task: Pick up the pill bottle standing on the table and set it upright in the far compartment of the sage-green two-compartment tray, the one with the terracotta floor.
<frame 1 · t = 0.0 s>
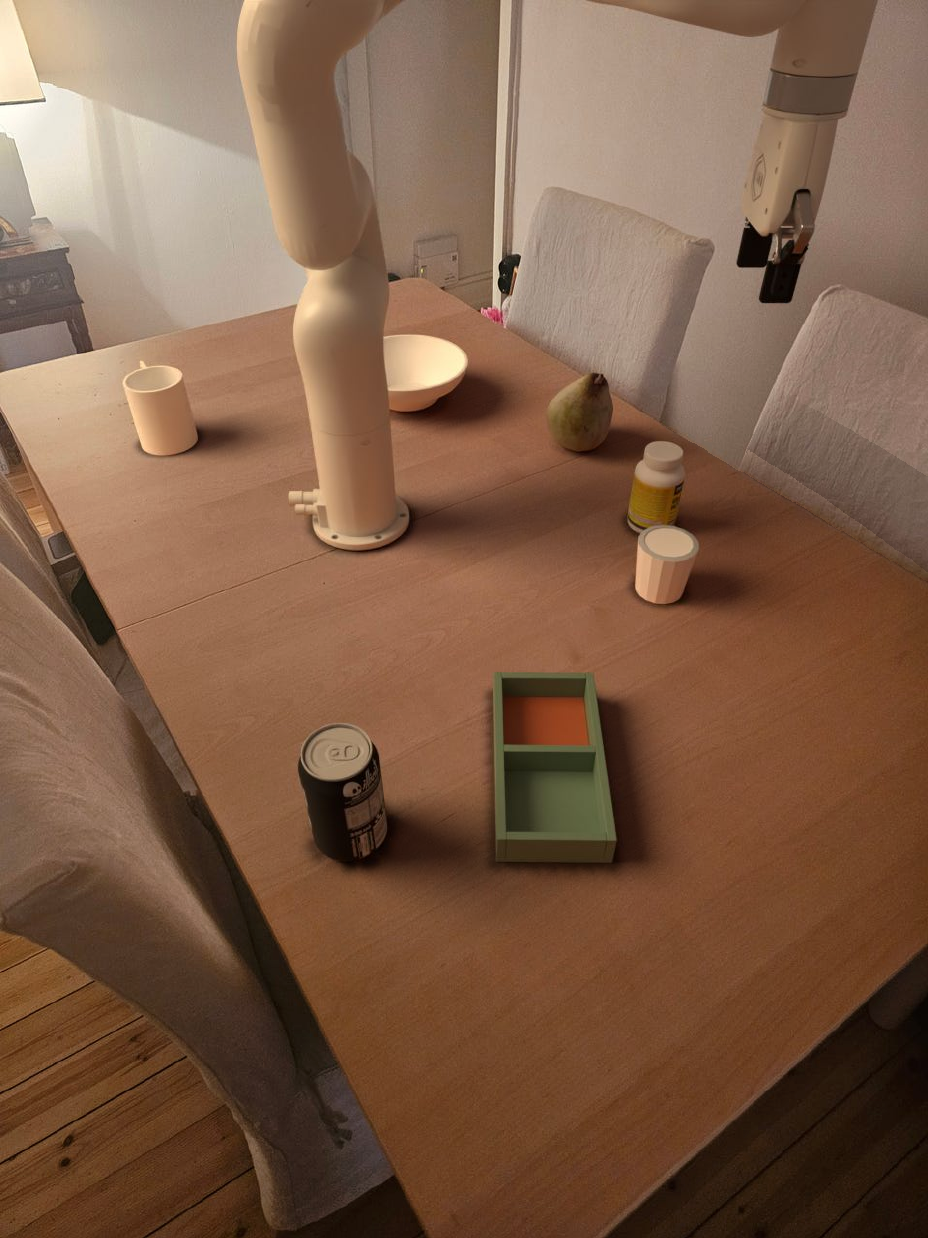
hand: (762, 283, 86), 31 cm above the table, tool pointing down, fingers open, 9 cm apart
tray: (547, 771, 79), on the table
cup: (166, 436, 125), on the table
bowl: (407, 402, 132), on the table
cream faceted tub: (658, 589, 98), on the table
beverage can: (351, 834, 74), on the table
pill bottle: (650, 525, 108), on the table
fruit: (576, 444, 123), on the table
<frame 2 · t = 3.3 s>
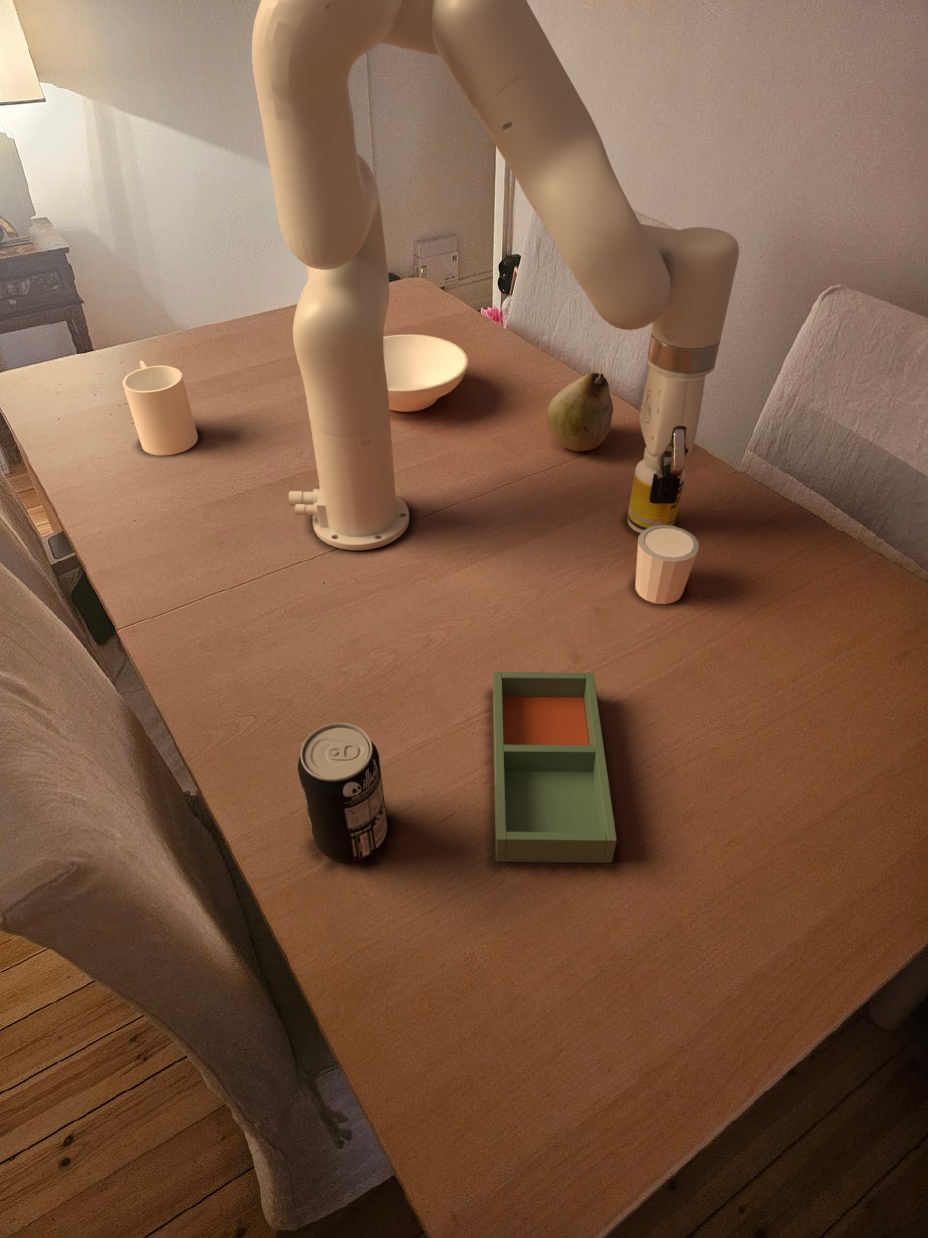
hand: (657, 485, 104), 6 cm above the table, tool pointing down, fingers closed on pill bottle, 6 cm apart
pill bottle: (650, 525, 108), on the table, touching gripper
everything else where it was.
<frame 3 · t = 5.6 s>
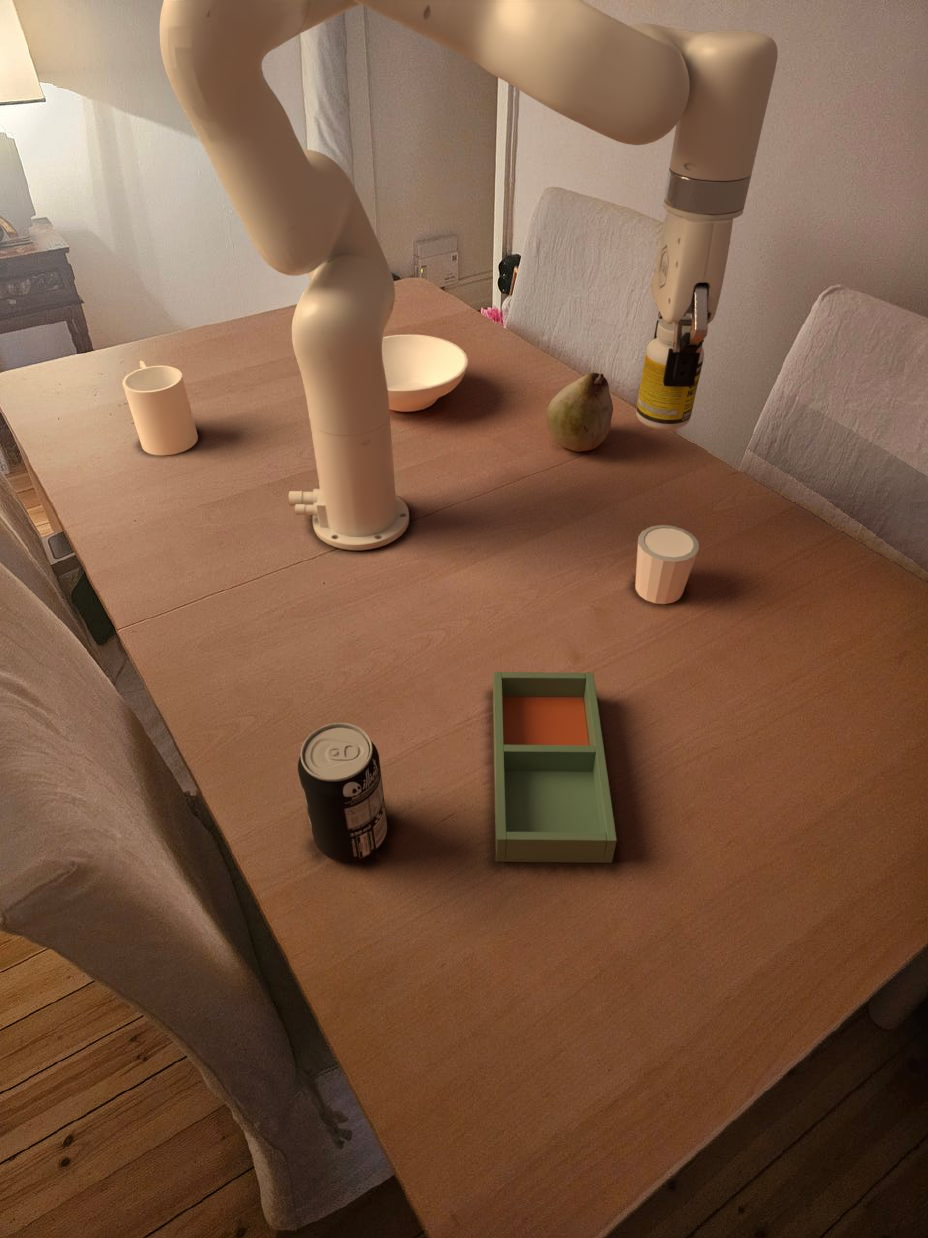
hand: (671, 368, 90), 23 cm above the table, tool pointing down, fingers closed on pill bottle, 6 cm apart
pill bottle: (662, 419, 94), point 17 cm above the table, touching gripper
everything else where it was.
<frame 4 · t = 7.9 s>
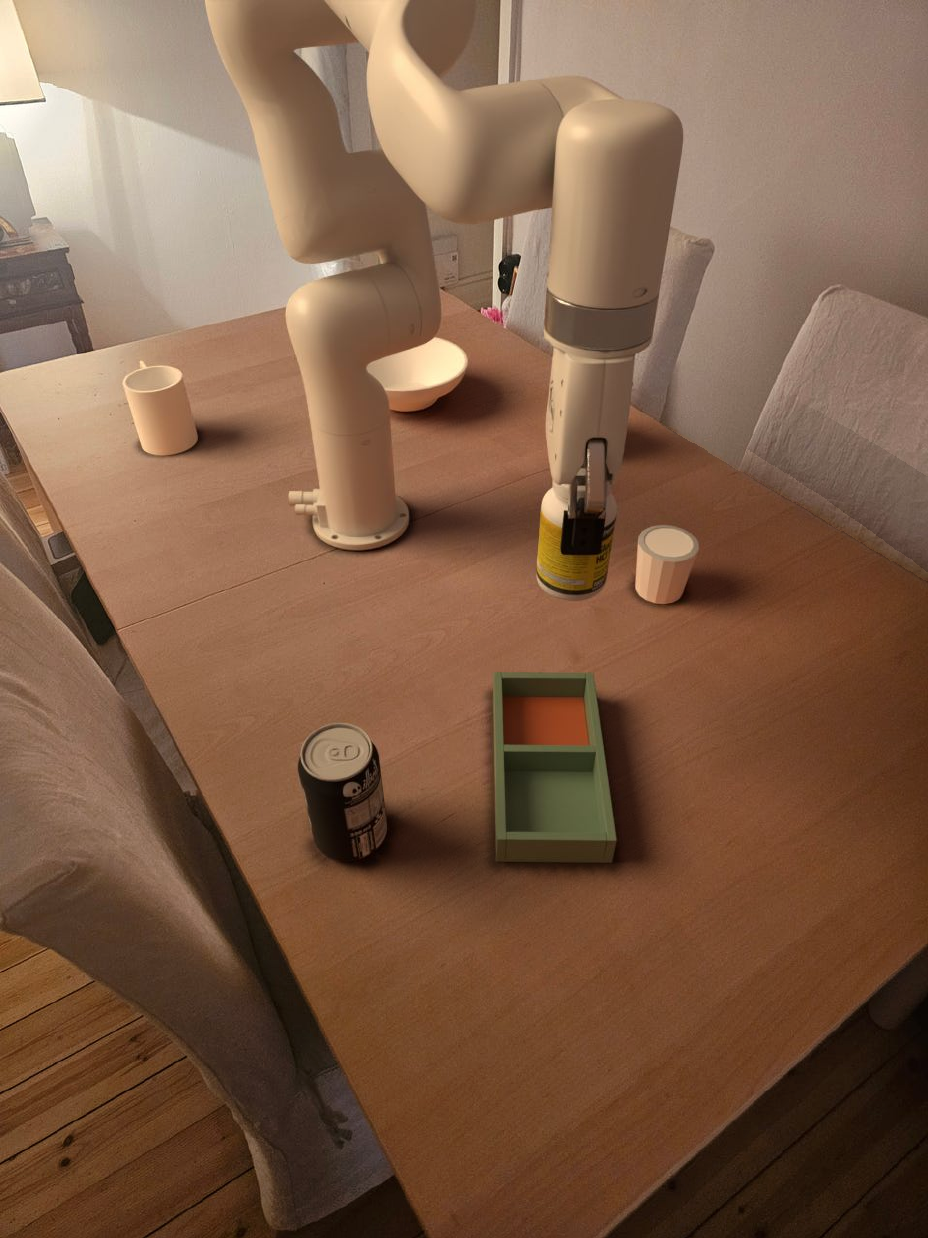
hand: (576, 525, 68), 23 cm above the table, tool pointing down, fingers closed on pill bottle, 6 cm apart
pill bottle: (570, 582, 72), point 17 cm above the table, touching gripper
everything else where it was.
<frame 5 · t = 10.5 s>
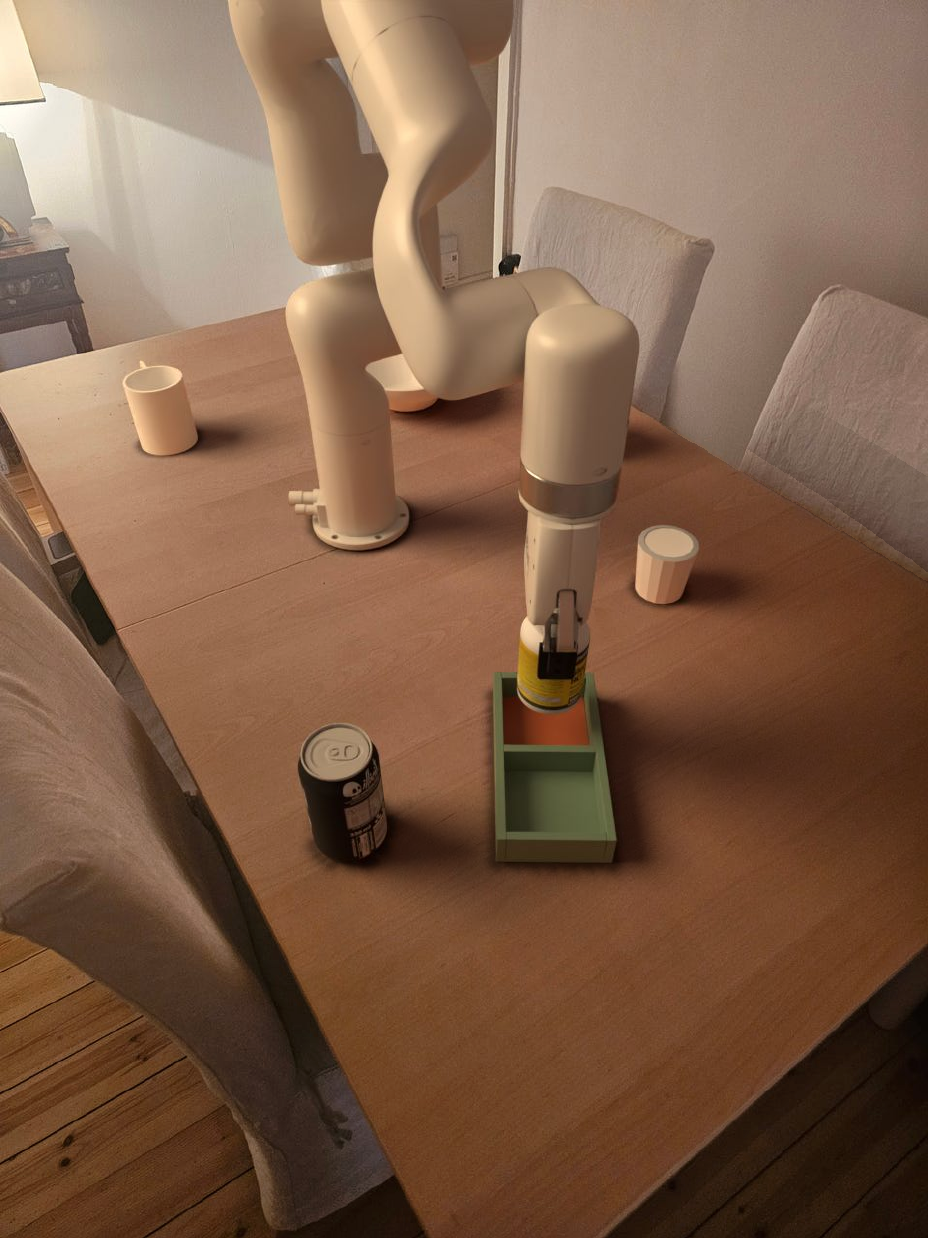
hand: (552, 647, 74), 12 cm above the table, tool pointing down, fingers closed on pill bottle, 6 cm apart
pill bottle: (549, 694, 78), point 6 cm above the table, touching gripper
everything else where it was.
when the fingers open (7 cm above the table, at t = 12.3 s): pill bottle stays where it is, resting on tray.
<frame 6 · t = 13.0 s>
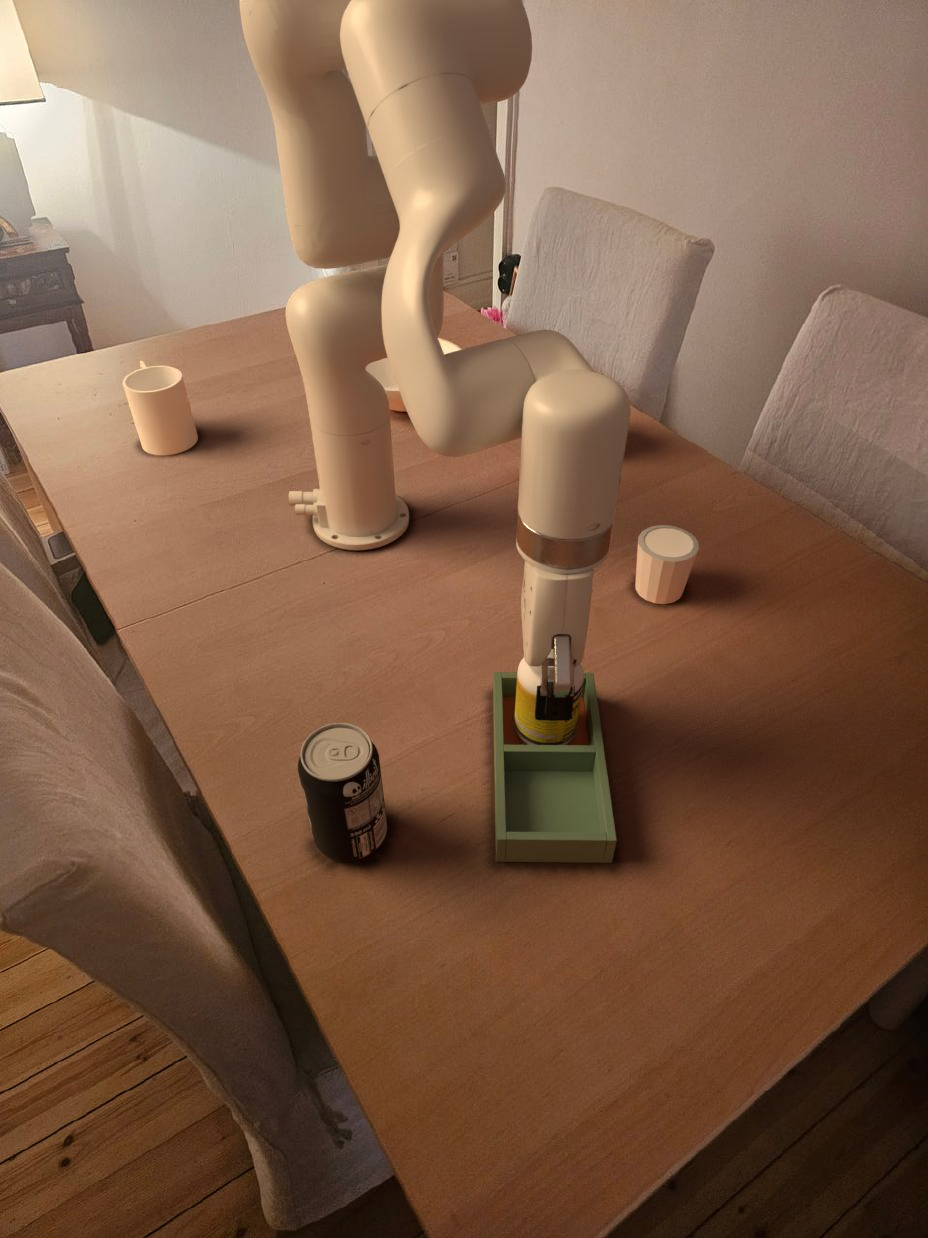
hand: (549, 677, 76), 8 cm above the table, tool pointing down, fingers open, 9 cm apart
pill bottle: (545, 729, 82), point 1 cm above the table, touching tray
everything else where it was.
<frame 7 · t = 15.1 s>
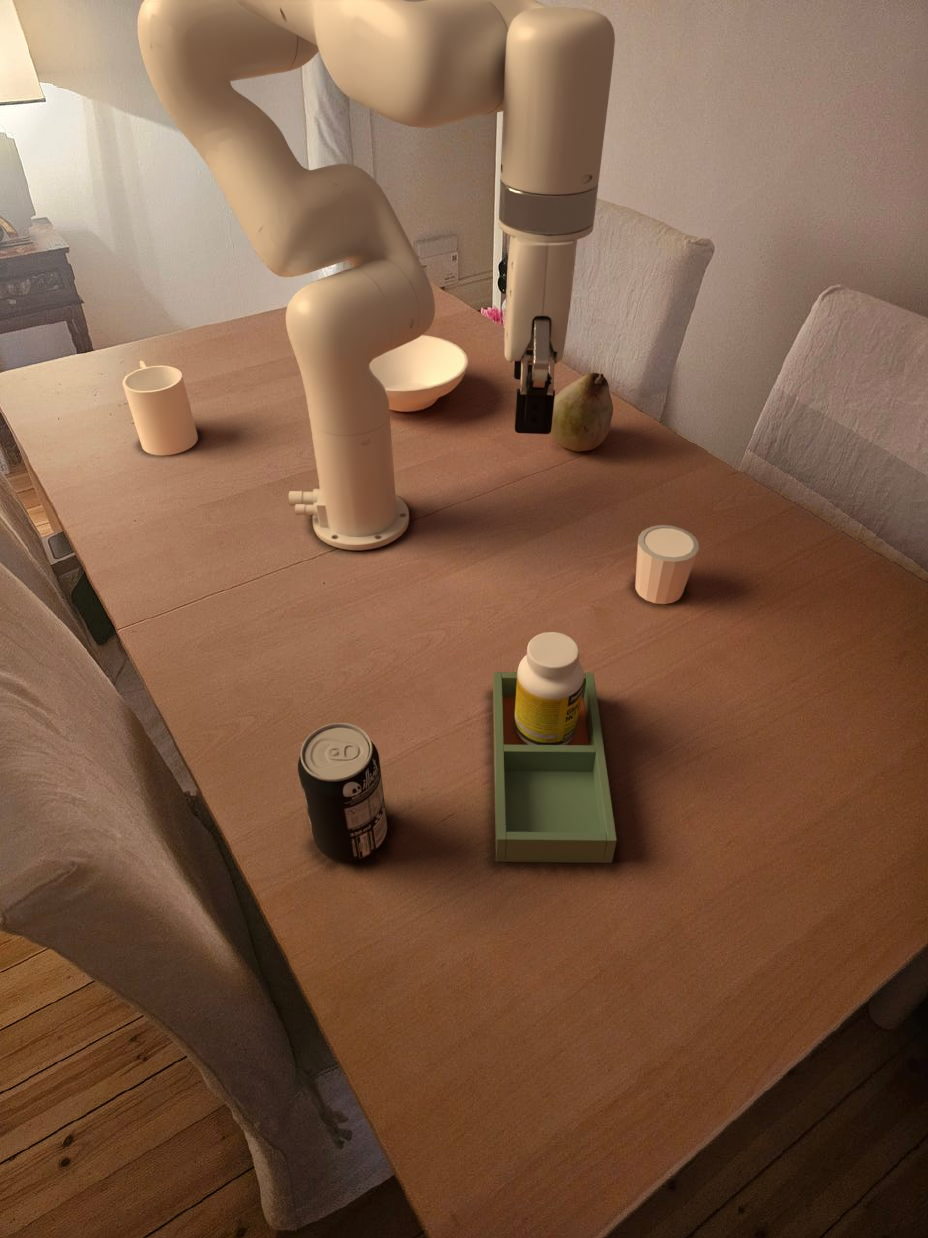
hand: (531, 403, 76), 27 cm above the table, tool pointing down, fingers open, 9 cm apart
nothing on the table moved.
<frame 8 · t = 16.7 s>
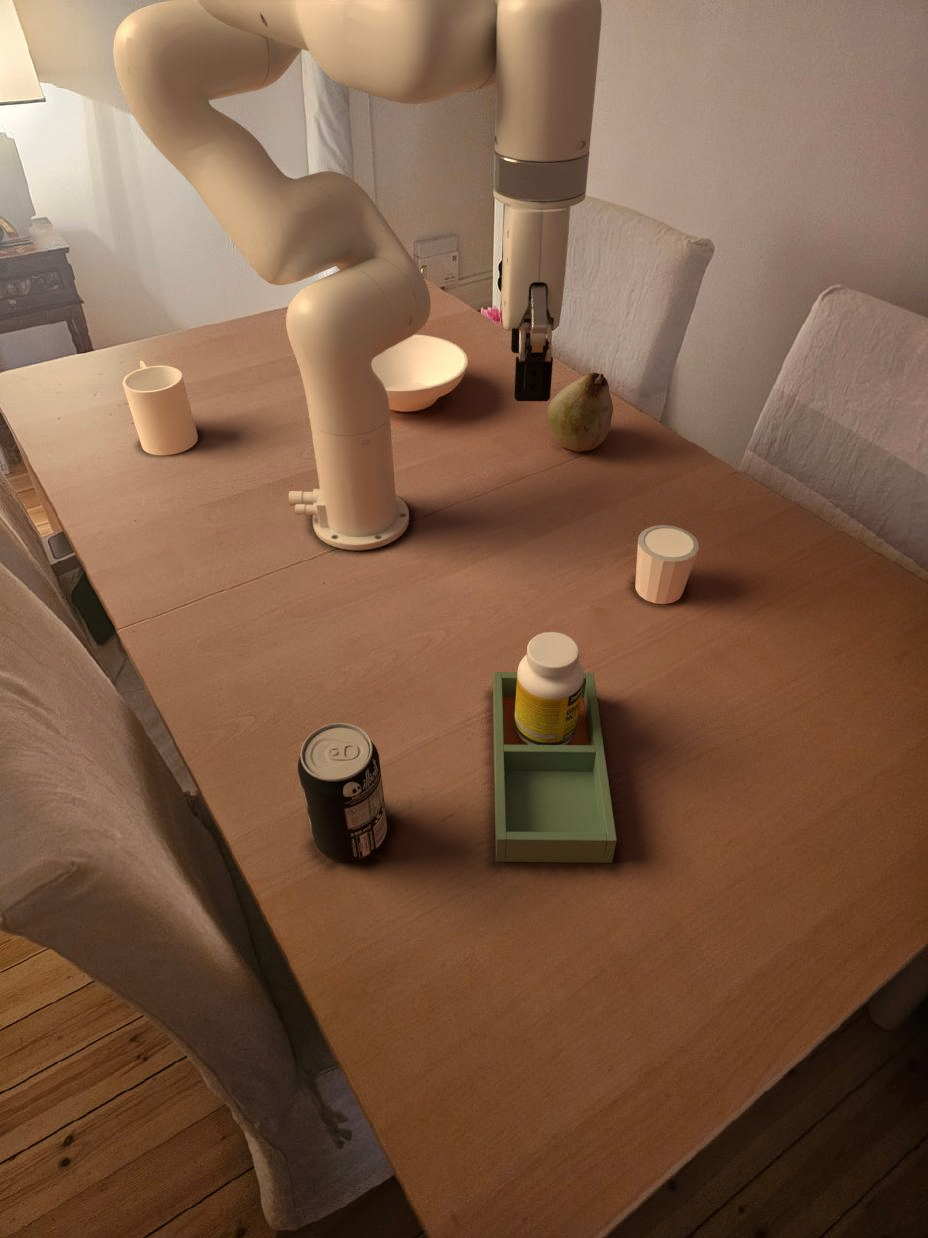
hand: (529, 374, 78), 28 cm above the table, tool pointing down, fingers open, 9 cm apart
nothing on the table moved.
at the end: pill bottle 0.0 cm from the target spot in the tray, point 0.6 cm above the tray's base; pill bottle tilted 0° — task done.
